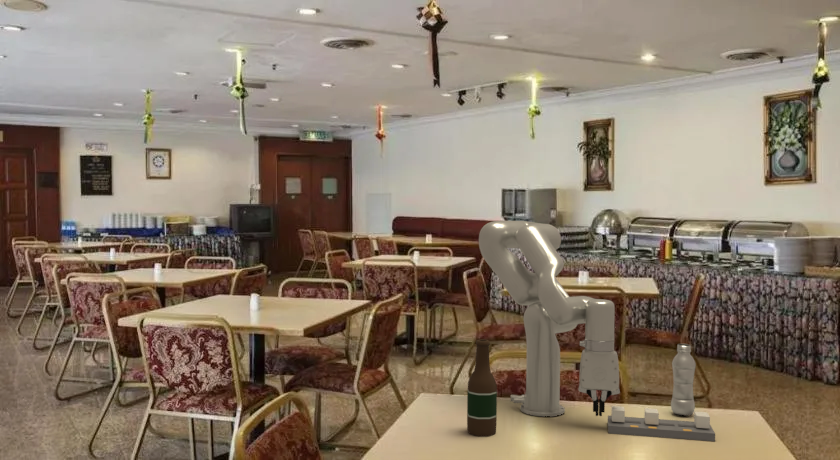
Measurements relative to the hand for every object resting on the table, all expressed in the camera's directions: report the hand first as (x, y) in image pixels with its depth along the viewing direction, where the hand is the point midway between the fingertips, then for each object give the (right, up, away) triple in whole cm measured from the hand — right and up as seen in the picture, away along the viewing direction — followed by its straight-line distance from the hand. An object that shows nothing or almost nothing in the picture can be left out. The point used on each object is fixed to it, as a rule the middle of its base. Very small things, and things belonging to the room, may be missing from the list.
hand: (598, 414), depth 197 cm
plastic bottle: (+27, -4, +13) cm, 30 cm away
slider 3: (+25, -2, -6) cm, 26 cm away
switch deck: (+15, -4, -3) cm, 16 cm away
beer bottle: (-32, -3, -6) cm, 32 cm away
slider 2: (+13, -1, -3) cm, 14 cm away
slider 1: (+5, -1, -1) cm, 5 cm away
